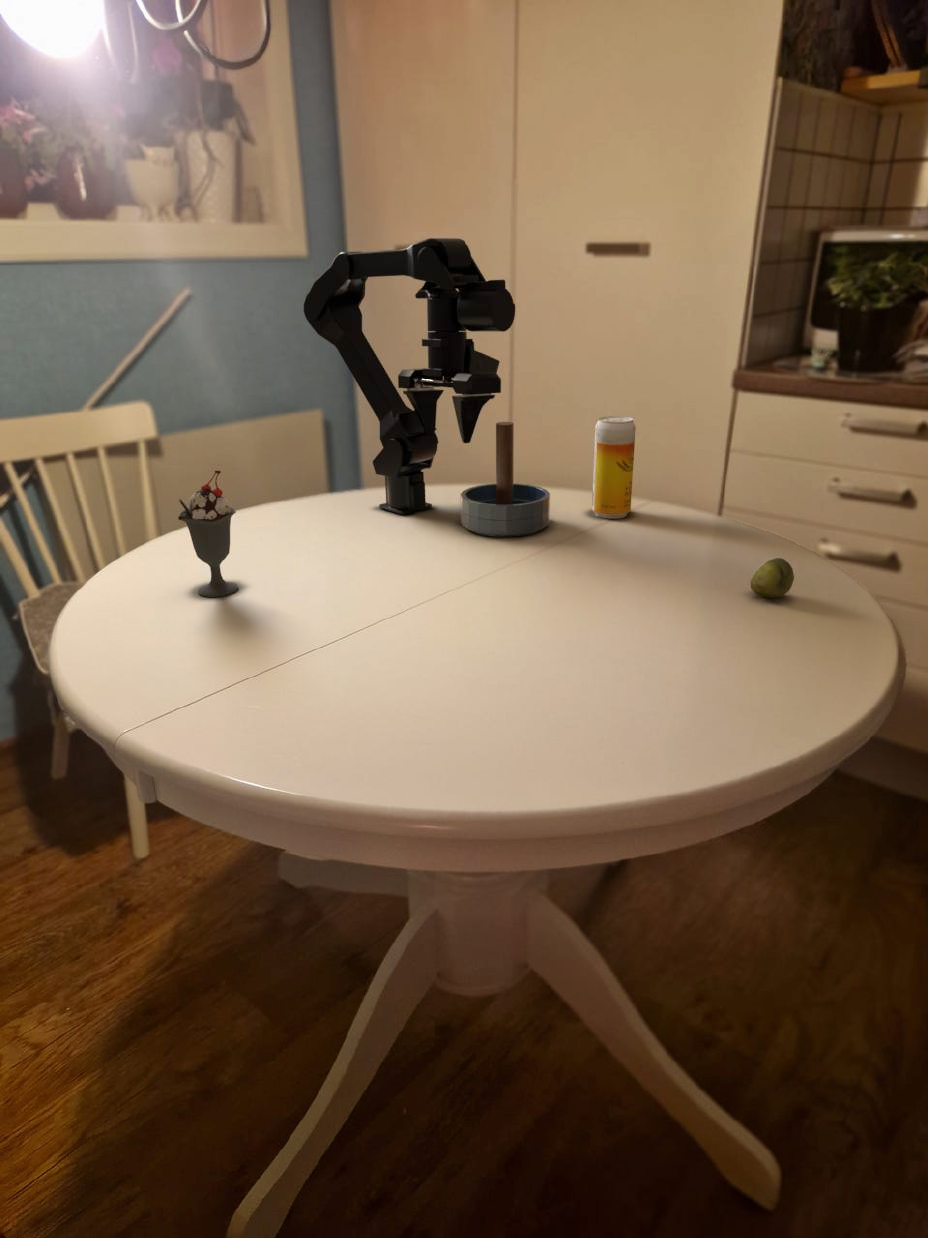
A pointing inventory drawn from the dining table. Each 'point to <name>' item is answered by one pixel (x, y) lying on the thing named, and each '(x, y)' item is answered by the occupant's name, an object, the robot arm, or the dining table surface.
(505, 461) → the stick
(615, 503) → the beer can
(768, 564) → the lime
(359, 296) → the robot arm
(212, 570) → the sundae
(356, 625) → the dining table surface
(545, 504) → the bowl
